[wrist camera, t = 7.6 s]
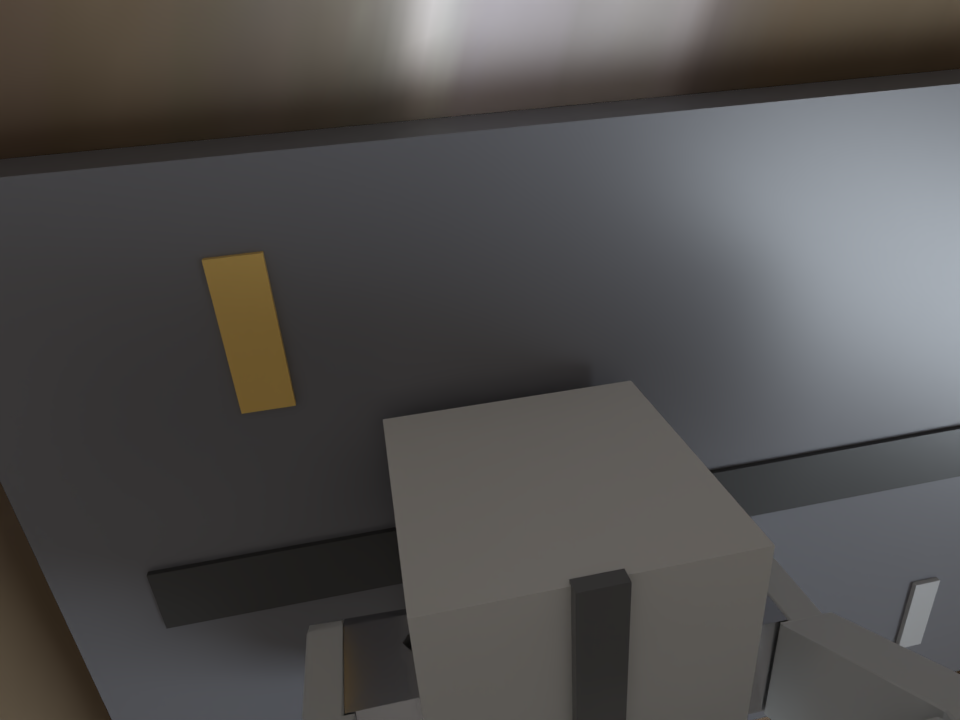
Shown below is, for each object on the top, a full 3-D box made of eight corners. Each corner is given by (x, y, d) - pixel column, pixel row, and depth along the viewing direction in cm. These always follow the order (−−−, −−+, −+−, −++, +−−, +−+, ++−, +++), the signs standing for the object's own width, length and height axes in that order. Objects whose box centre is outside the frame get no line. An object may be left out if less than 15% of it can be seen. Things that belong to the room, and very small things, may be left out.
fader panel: (1107, 55, 13) (1239, 57, 11) (936, 602, 19) (1002, 664, 17) (-50, 164, 10) (-142, 192, 8) (194, 766, 16) (174, 862, 14)
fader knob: (631, 377, 11) (784, 550, 7) (622, 647, 13) (729, 873, 10) (382, 416, 10) (408, 626, 7) (424, 688, 13) (459, 947, 9)
